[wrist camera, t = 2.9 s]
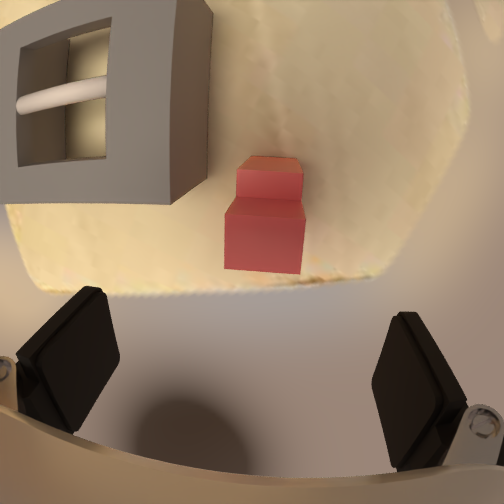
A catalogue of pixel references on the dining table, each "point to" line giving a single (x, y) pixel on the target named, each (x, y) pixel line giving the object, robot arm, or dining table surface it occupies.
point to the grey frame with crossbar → (107, 102)
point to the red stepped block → (266, 217)
